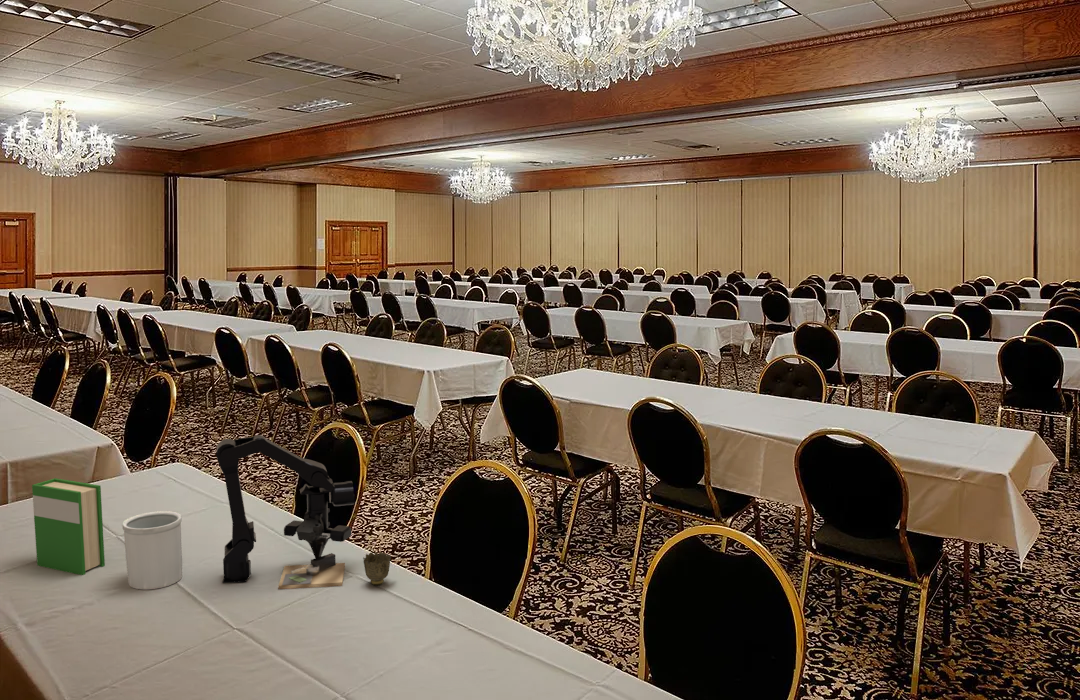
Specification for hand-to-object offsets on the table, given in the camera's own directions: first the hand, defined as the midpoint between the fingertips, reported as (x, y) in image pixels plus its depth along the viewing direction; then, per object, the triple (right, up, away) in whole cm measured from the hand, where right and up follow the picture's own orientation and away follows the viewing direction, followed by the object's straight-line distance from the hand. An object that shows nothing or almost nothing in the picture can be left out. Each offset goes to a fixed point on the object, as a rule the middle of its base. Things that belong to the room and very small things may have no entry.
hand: (317, 559), depth 240 cm
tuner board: (0, -4, -6) cm, 7 cm away
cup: (+19, -5, -9) cm, 22 cm away
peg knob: (0, -2, -6) cm, 6 cm away
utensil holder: (-43, -4, -9) cm, 44 cm away
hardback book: (-71, -2, -1) cm, 71 cm away
